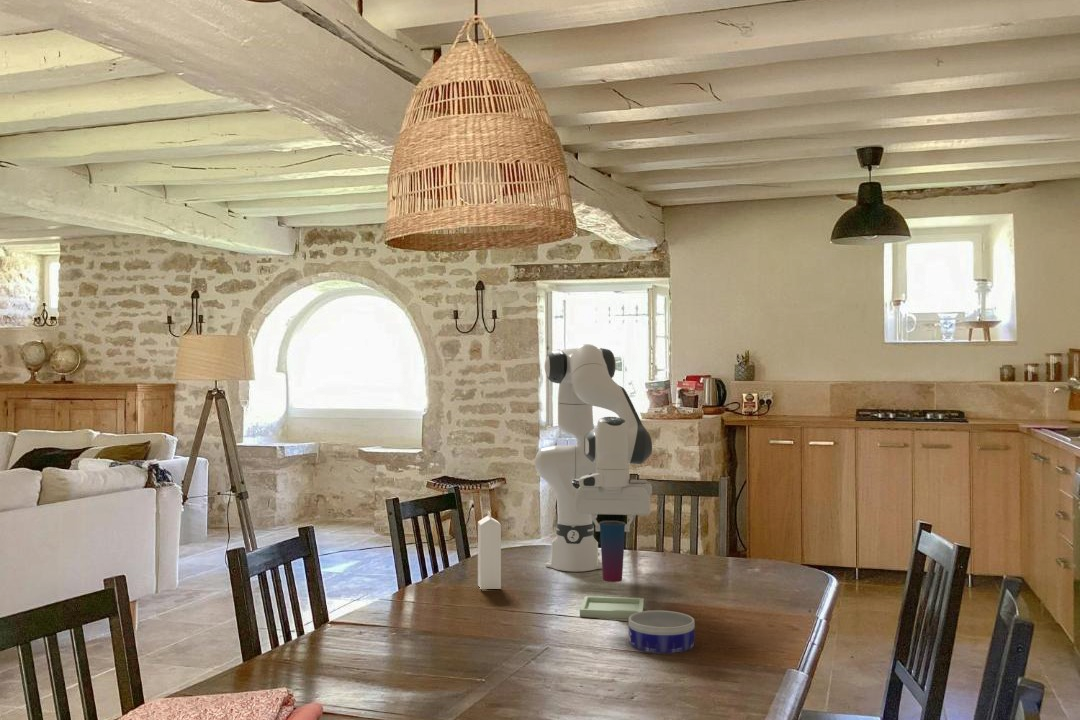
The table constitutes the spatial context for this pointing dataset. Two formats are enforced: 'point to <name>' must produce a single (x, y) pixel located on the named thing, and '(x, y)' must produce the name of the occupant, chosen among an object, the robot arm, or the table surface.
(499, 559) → the milk
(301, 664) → the table surface
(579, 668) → the table surface
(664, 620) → the dog bowl
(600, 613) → the tray
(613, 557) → the cup
